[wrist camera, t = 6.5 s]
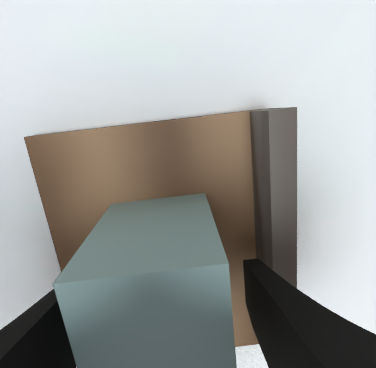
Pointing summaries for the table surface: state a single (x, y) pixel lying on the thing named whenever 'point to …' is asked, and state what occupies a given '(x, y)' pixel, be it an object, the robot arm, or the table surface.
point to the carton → (150, 289)
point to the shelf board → (182, 184)
